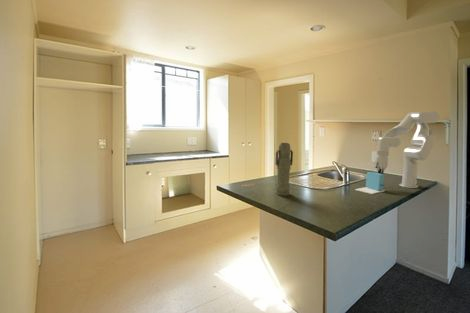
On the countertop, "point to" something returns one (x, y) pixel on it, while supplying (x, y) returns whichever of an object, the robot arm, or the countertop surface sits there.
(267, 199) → the countertop surface
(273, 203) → the countertop surface
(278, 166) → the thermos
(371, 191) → the mat
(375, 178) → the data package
